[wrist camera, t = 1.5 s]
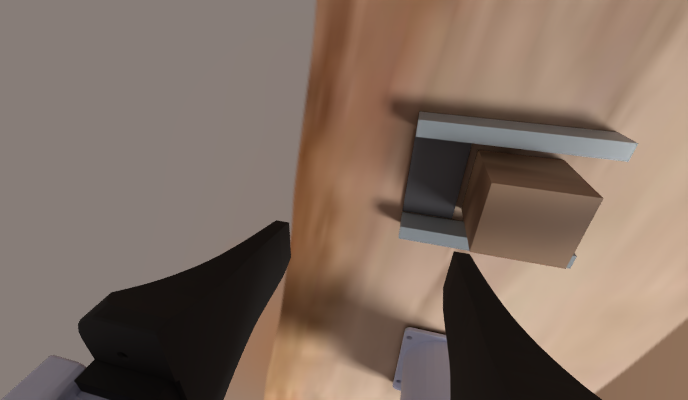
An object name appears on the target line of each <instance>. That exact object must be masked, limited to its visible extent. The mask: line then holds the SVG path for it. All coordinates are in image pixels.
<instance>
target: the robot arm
mask: <svg viewBox="0 0 688 400" xmlns="http://www.w3.org/2000/svg"><path fill="white" fill-rule="evenodd" d="M290 258H291V251H290V232H289V223H288V222H282V221H275V222H273V223H271V224H270V225H268V226H267V227H265V228H264V229H262V230H261V231H259V232H258V233H256V234H255V235H253V236H252V237H250V238H248V239H247V240H245V241H244V242H242V243H240V244H239V245H237V246H235V247H233V248H232V249H230V250H228V251H226V252H225V253H223V254H221V255H220V256H217V257H215V258H213V259H211V260H209V261H207V262H205V263H203V264H201V265H198V266H196V267H194V268H191V269H188V270H186V271H183V272H181V273H178V274H176V275H173V276H170V277H167V278H164V279H161V280H157V281H154V282H151V283H148V284H144V285H140V286H137V287H132V288H129V289H124V290H120V291H116V292H112V293H110V294H109V295H108V296H107V297H106V298H105V299H103V301H101V302H100V303H99V304H98V305H96V306H95V307H94V308H93V309H92V310H91V311H90V312H88V313H87V314H86V315H85V316H84V317H83V318H82V319H81V320H80V321H79V323H78V329H79V333H80V335H81V338H82V339H83V341H84V343H85V344H86V346H87V348H88V349H89V351H90V352H91V354H92V356H93V357H94V359H95V360H94V361H93V362H92V363H91V364H90V365H89V366H88V367H87V368H86V367H85V366H84V365H82V364H81V363H79V362H76V361H72V360H69V359H66V358H62V357H59V356H55V355H51V356H49V357H48V358H47V359H46V360H45V361H43V362H42V363H41V364H40V365H39V366H38V367H37V368H36V369H35V370H33V371H32V372H31V373H30V374H29V375H28V376H27V377H26V378H25V379H24V380H22V381H21V382H20V383H19V384H18V385H17V386H16V387H14V388H13V389H12V390H11V391H10V392H9V393H8V394H7V395H6V396H5V397H3V398H2V399H1V400H223V399H224V397H225V394H226V392H227V389H228V387H229V384H230V382H231V379H232V377H233V374H234V372H235V369H236V367H237V365H238V362H239V360H240V358H241V355H242V353H243V351H244V348H245V346H246V344H247V342H248V339H249V337H250V335H251V333H252V331H253V328H254V326H255V324H256V322H257V321H258V318H259V317H260V315H261V313H262V312H263V310H264V308H265V307H266V305H267V303H268V301H269V299H270V298H271V296H272V295H273V293H274V291H275V290H276V288H277V286H278V284H279V282H280V281H281V279H282V277H283V275H284V273H285V271H286V268H287V266H288V263H289V261H290ZM443 313H444V322H445V331H446V335H443V334H439V333H434V332H430V331H425V330H421V329H416V328H412V327H407V328H406V329H405V331H404V336H403V340H402V345H401V349H400V354H399V358H398V363H397V367H396V372H395V376H394V380H393V387H394V388H395V389H397V390H401V398H400V400H602V399H600V398H599V397H598V396H596V395H595V394H594V393H592V392H591V391H590V390H589V389H587V388H586V387H585V386H583V385H582V384H581V383H580V382H579V381H578V380H576V379H575V378H574V377H573V376H572V375H570V374H569V373H568V372H567V371H566V370H565V369H563V368H562V367H561V366H560V365H559V364H558V363H557V362H556V361H555V360H553V359H552V358H551V357H550V356H549V355H548V354H547V353H546V352H545V351H544V350H543V349H542V348H541V347H540V346H539V345H538V344H537V343H536V342H535V341H534V340H533V339H532V338H531V337H530V336H529V335H528V334H527V333H526V332H525V330H524V329H523V328H522V327H521V326H520V325H519V324H518V323H517V322H516V320H515V319H514V318H513V317H512V316H511V314H510V313H509V312H508V311H507V309H506V308H505V307H504V305H503V304H502V303H501V301H500V300H499V299H498V297H497V296H496V294H495V293H494V292H493V290H492V289H491V287H490V286H489V284H488V283H487V281H486V280H485V278H484V277H483V275H482V274H481V272H480V270H479V269H478V267H477V265H476V264H475V262H474V261H473V259H472V257H471V256H470V254H465V253H460V252H454V253H453V256H452V260H451V263H450V266H449V270H448V273H447V276H446V280H445V283H444V287H443Z"/></svg>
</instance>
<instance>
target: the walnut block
mask: <svg viewBox="0 0 688 400" xmlns="http://www.w3.org/2000/svg"><path fill="white" fill-rule="evenodd" d="M602 200H603V197H601V196H600V195H599V194H598V193H597V192H596V191H595V190H594V189H593V188H592V187H591V186H590V185H589V184H588V183H587V182H586V181H585V180H584V179H583V178H582V177H581V176H580V175H579V174H578V173H577V172H576V171H575V170H574V169H573V168H572V167H571V166H570V165H569V164H568V163H567V162H566V161H565V160H559V159H551V158H543V157H534V156H526V155H518V154H510V153H501V152H493V151H485V150H478V151H477V155H476V158H475V162H474V166H473V169H472V173H471V176H470V180H469V184H468V187H467V191H466V194H465V198H464V201H463V205H462V214H463V219H464V225H465V230H466V235H467V240H468V246H469V251H470V252H474V253H479V254H485V255H491V256H496V257H502V258H508V259H513V260H519V261H525V262H530V263H536V264H542V265H547V266H553V267H559V268H564V269H566V267H567V265H568V264H569V262H570V260H571V258H572V256H573V254H574V252H575V250H576V249H577V247H578V245H579V243H580V241H581V239H582V237H583V236H584V234H585V232H586V230H587V228H588V226H589V224H590V222H591V221H592V219H593V217H594V215H595V213H596V211H597V209H598V208H599V206H600V204H601V202H602Z"/></svg>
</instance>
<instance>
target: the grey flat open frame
mask: <svg viewBox="0 0 688 400" xmlns="http://www.w3.org/2000/svg"><path fill="white" fill-rule="evenodd" d="M472 143H474V144H483V145H491V146H499V147H508V148H516V149H525V150H533V151H542V152H550V153H558V154H567V155H575V156H584V157H592V158H601V159H609V160H617V161H626V162H628V161H629V160H630V158H631V156H632V154H633V152H634V150H635V149H636V147H637V145H638V143H636V142H635V141H633V140H631V139H629V138H627V137H626V136H624V135H622V134H620V133H618V132H611V131H602V130H592V129H583V128H573V127H564V126H554V125H545V124H535V123H525V122H516V121H506V120H497V119H487V118H478V117H468V116H459V115H449V114H439V113H430V112H420V111H419V117H418V123H417V130H416V135H415V141H414V147H413V152H412V158H411V164H410V170H409V176H408V182H407V188H406V194H405V200H404V206H403V211H406V212H402V217H401V223H400V231H399V238H400V239H405V240H411V241H417V242H422V243H428V244H434V245H439V246H445V247H451V248H456V249H462V250H468V251H469V246H468V240H467V235H466V230H465V225H464V222H462V221H456V220H450V219H452V216H453V213H454V209H455V205H456V201H457V198H458V194H459V190H460V186H461V183H462V179H463V175H464V171H465V168H466V164H467V160H468V156H469V153H470V149H471V145H472ZM407 212H413V213H419V214H425V215H431V216H437V217H431V216H425V215H419V214H413V213H407ZM438 217H444V218H450V219H444V218H438ZM576 257H577V256H576V255H575V253H574V254H573V256H572V258H571V260H570V262H569V264H568V265H567V267H566V268H571V266H572V264H573V262H574V260H575V259H576Z"/></svg>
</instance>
